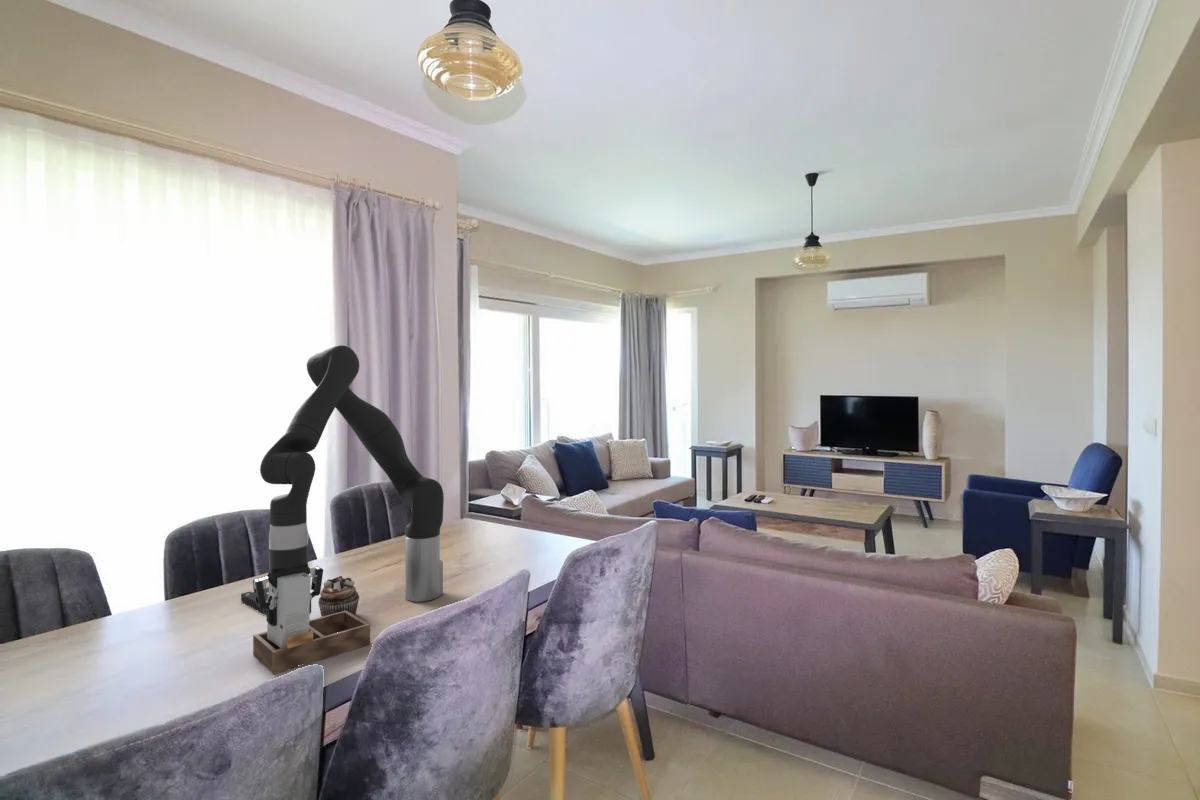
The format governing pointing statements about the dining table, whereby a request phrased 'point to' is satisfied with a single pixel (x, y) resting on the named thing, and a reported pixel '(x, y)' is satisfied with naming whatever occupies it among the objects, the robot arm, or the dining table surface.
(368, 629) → the compartment tray
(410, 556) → the robot arm
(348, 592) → the cupcake
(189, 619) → the dining table surface
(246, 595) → the disk drive
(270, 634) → the skincare box
